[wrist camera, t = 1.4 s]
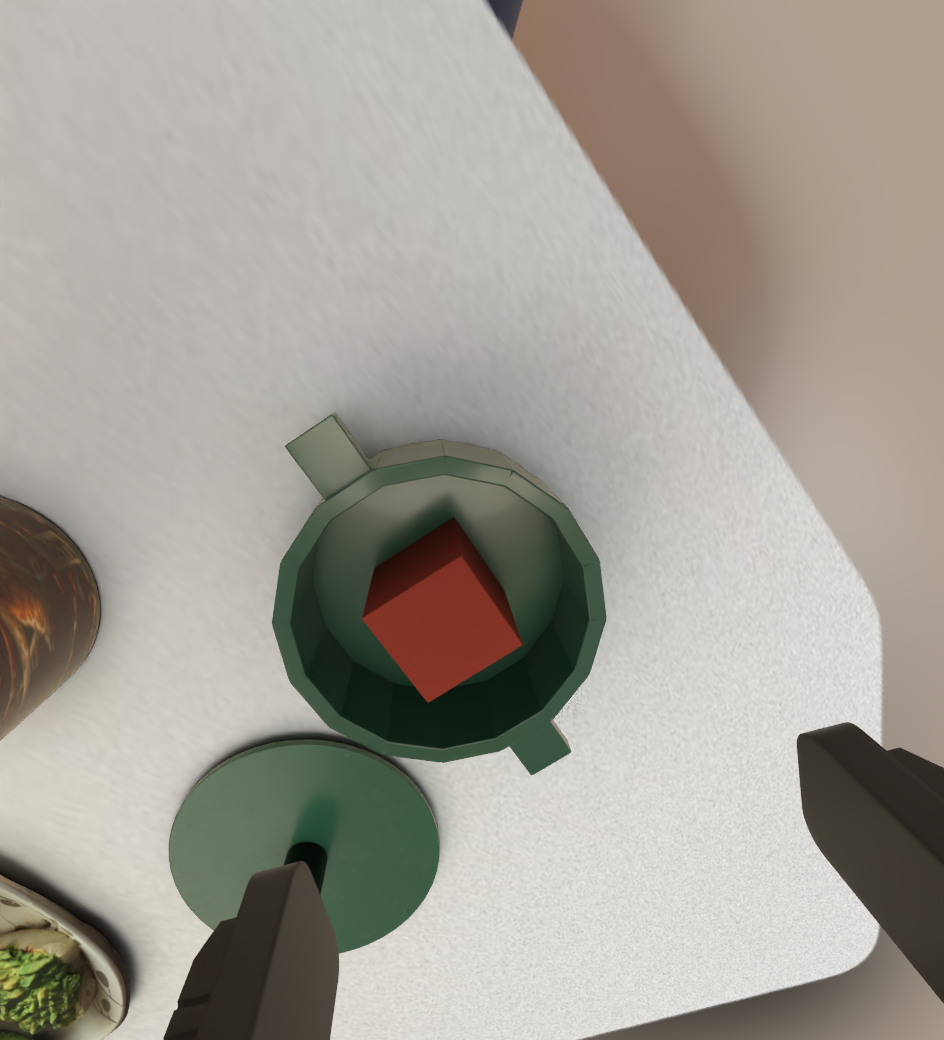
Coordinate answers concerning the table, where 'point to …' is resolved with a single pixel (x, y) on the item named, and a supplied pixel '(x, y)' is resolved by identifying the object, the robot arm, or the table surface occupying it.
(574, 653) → the pot
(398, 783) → the pot lid
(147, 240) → the table surface
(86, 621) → the jar
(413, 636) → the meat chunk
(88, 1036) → the plate of avocado toast
